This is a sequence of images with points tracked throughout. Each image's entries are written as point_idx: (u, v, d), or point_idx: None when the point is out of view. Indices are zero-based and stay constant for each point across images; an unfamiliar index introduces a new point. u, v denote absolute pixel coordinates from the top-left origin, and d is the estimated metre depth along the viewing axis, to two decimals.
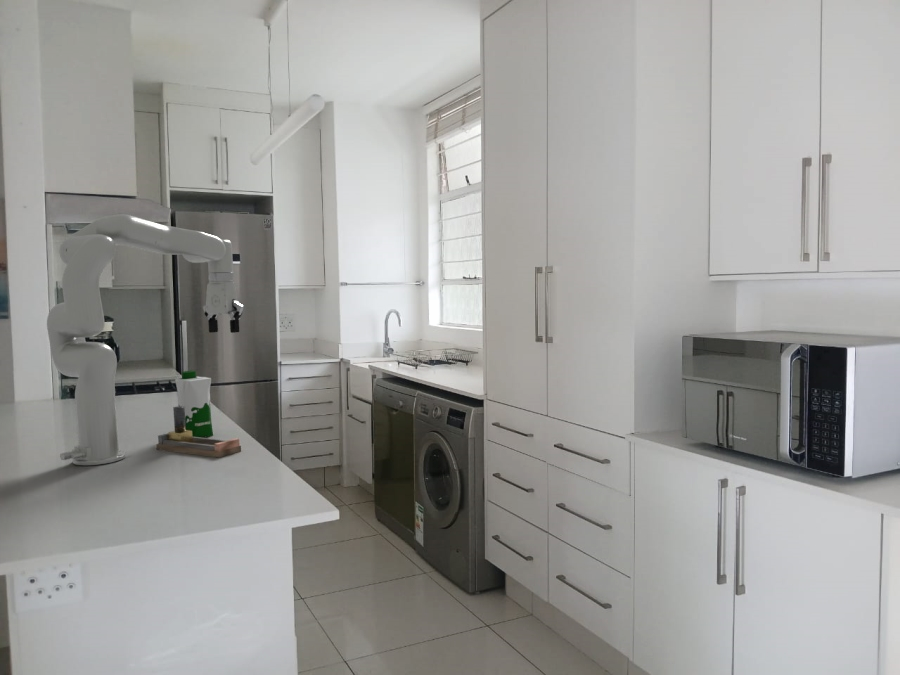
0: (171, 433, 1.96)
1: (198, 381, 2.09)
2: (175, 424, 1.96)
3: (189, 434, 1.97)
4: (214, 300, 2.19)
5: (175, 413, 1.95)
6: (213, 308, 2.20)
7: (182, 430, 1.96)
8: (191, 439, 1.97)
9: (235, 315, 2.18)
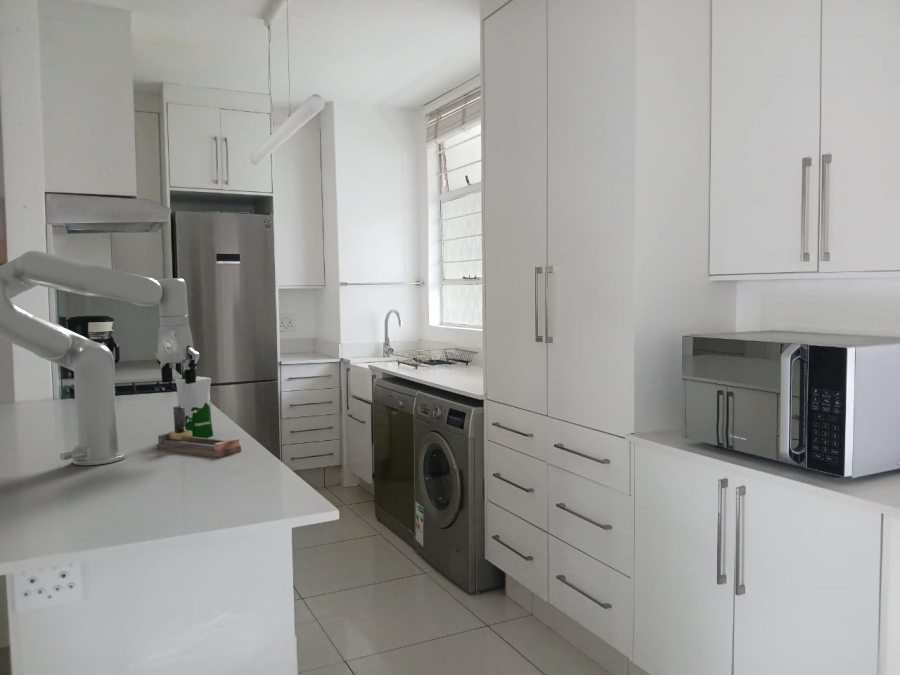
0: (171, 433, 1.96)
1: (198, 381, 2.09)
2: (175, 424, 1.96)
3: (189, 434, 1.97)
4: (166, 347, 1.93)
5: (175, 413, 1.95)
6: (165, 356, 1.94)
7: (182, 430, 1.96)
8: (191, 439, 1.97)
9: (190, 364, 1.92)
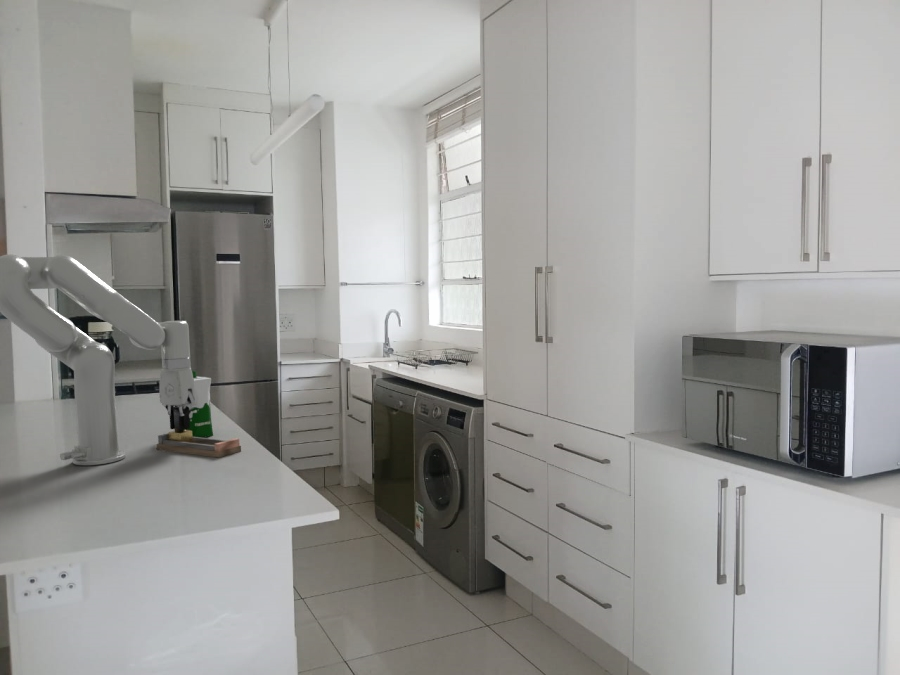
0: (171, 433, 1.96)
1: (198, 381, 2.09)
2: (175, 424, 1.96)
3: (189, 434, 1.97)
4: (168, 389, 1.94)
5: (175, 413, 1.95)
6: (167, 398, 1.95)
7: (182, 430, 1.96)
8: (191, 439, 1.97)
9: (185, 413, 1.94)
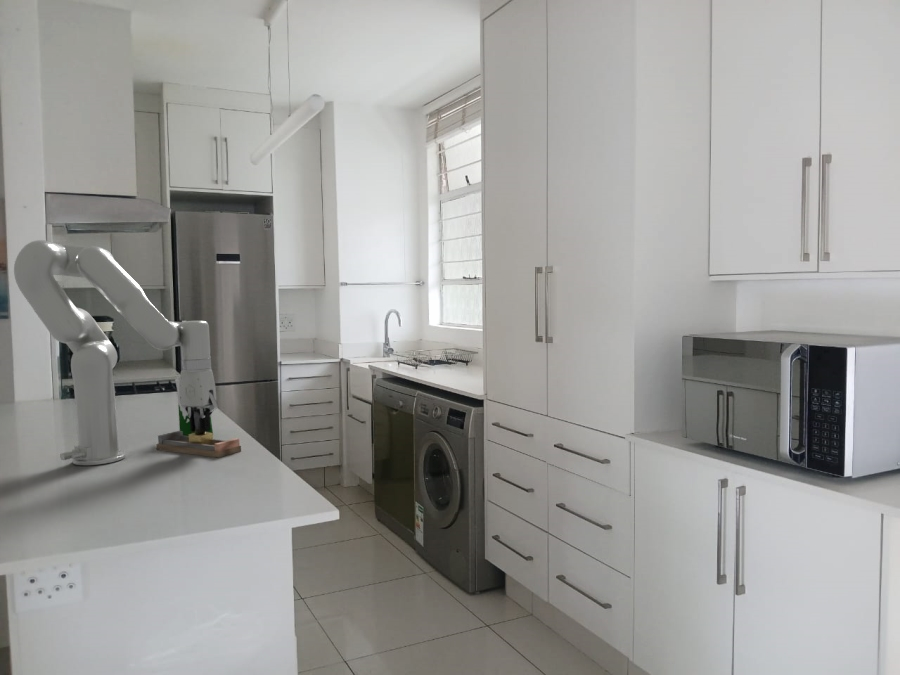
0: (191, 436, 1.92)
1: None
2: (195, 426, 1.92)
3: (209, 436, 1.93)
4: (188, 391, 1.90)
5: (195, 415, 1.91)
6: (187, 400, 1.90)
7: (202, 432, 1.92)
8: (211, 441, 1.93)
9: (206, 415, 1.90)
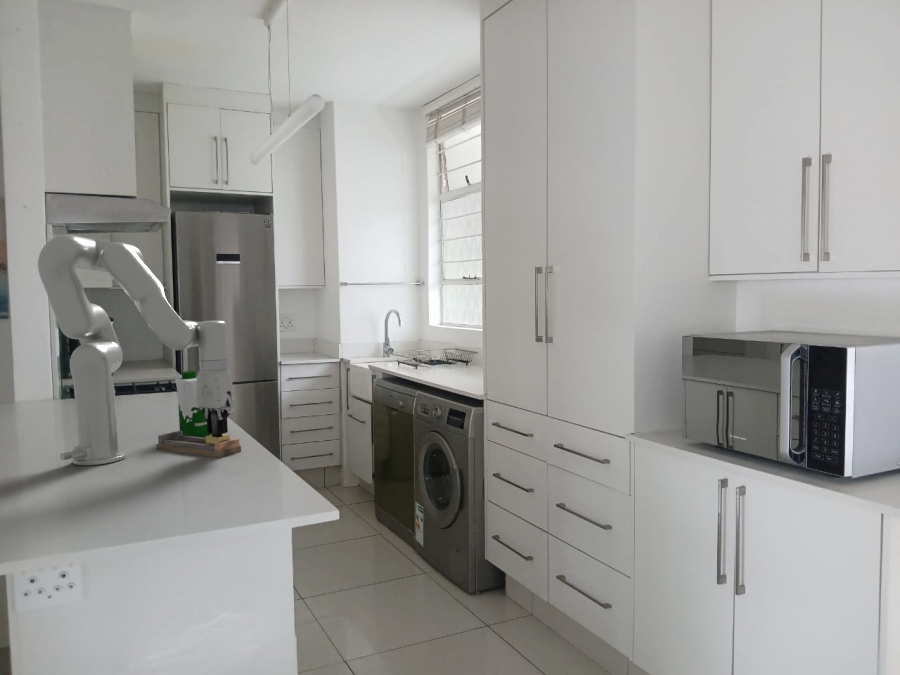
0: (208, 438, 1.88)
1: None
2: (212, 428, 1.88)
3: (227, 438, 1.89)
4: (206, 392, 1.87)
5: (213, 416, 1.88)
6: (204, 401, 1.87)
7: (220, 434, 1.88)
8: None
9: (224, 416, 1.87)
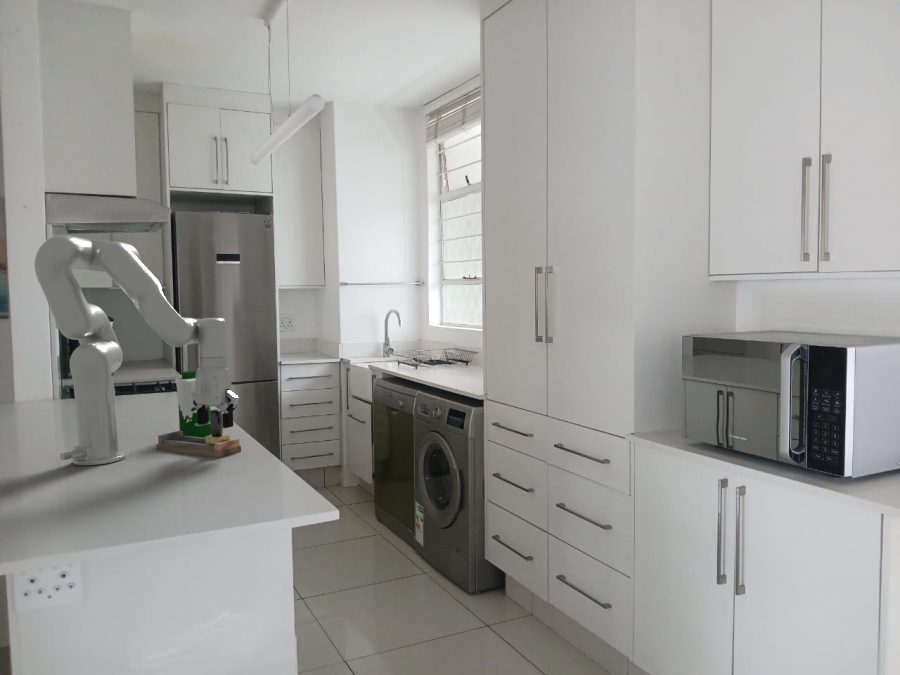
0: (208, 438, 1.88)
1: None
2: (212, 428, 1.88)
3: (226, 438, 1.89)
4: (204, 389, 1.86)
5: (212, 416, 1.88)
6: (203, 398, 1.87)
7: (219, 434, 1.89)
8: None
9: (229, 408, 1.85)
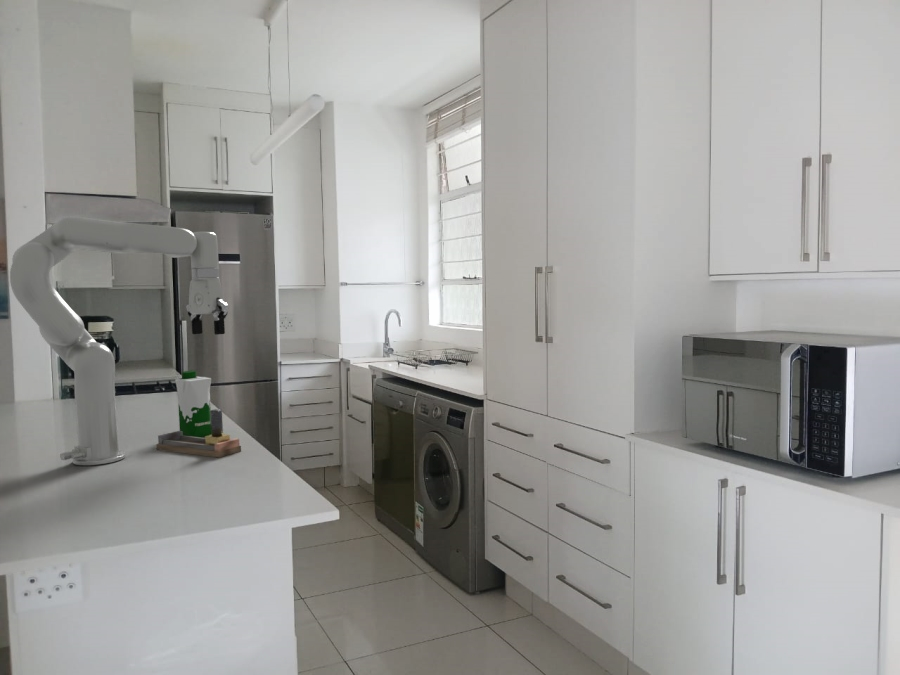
0: (208, 438, 1.88)
1: (198, 381, 2.09)
2: (212, 428, 1.88)
3: (226, 438, 1.89)
4: (197, 298, 1.99)
5: (212, 416, 1.88)
6: (196, 307, 1.99)
7: (219, 434, 1.89)
8: None
9: (220, 315, 1.97)
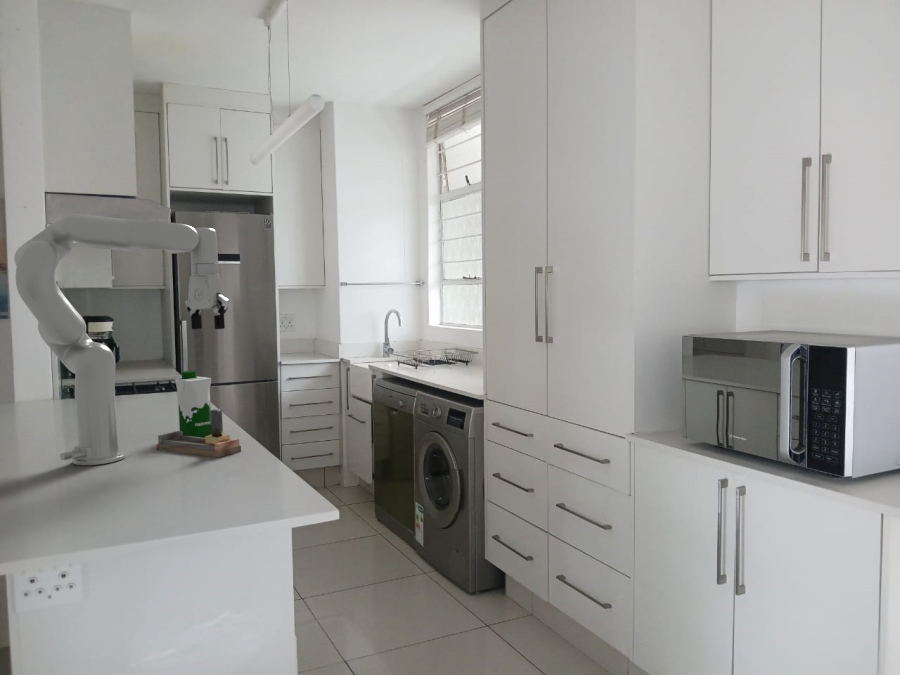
0: (208, 438, 1.88)
1: (198, 381, 2.09)
2: (212, 428, 1.88)
3: (226, 438, 1.89)
4: (197, 294, 2.01)
5: (212, 416, 1.88)
6: (196, 302, 2.02)
7: (219, 434, 1.89)
8: None
9: (220, 310, 2.00)
